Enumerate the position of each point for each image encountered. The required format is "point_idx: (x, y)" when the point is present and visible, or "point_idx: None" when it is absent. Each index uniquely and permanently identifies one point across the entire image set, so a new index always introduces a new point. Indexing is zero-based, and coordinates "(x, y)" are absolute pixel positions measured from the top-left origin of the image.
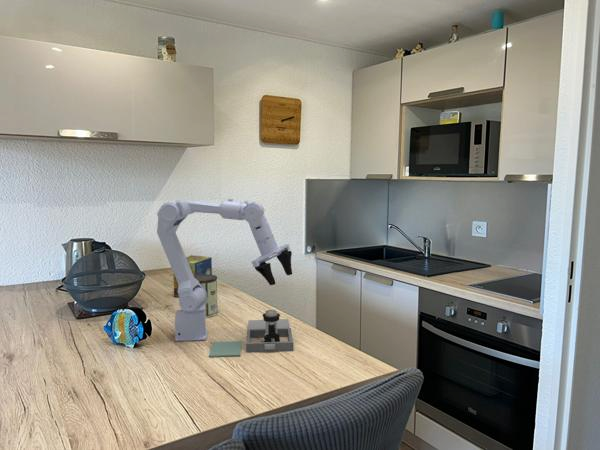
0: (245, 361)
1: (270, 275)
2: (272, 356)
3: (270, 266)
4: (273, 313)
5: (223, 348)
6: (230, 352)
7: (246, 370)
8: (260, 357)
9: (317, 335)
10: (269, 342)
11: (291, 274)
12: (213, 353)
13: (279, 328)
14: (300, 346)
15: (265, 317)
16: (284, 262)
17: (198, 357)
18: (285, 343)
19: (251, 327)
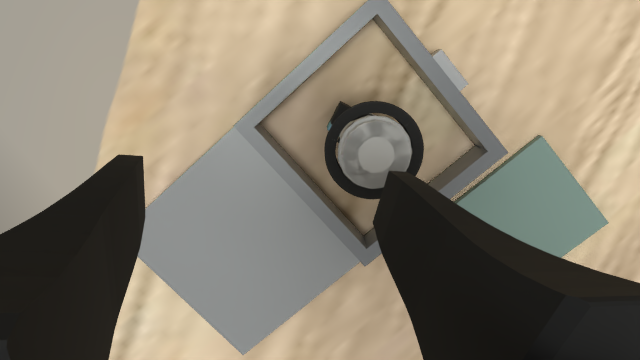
0: (567, 86)
1: (474, 218)
2: (472, 31)
3: (522, 271)
4: (392, 124)
5: (524, 230)
6: (542, 182)
7: (635, 23)
8: (505, 64)
9: (162, 22)
10: (439, 82)
11: (134, 156)
12: (582, 224)
13: (272, 162)
14: (317, 2)
15: (422, 152)
16: (98, 310)
17: (619, 249)
18: (401, 20)
19: (302, 289)
